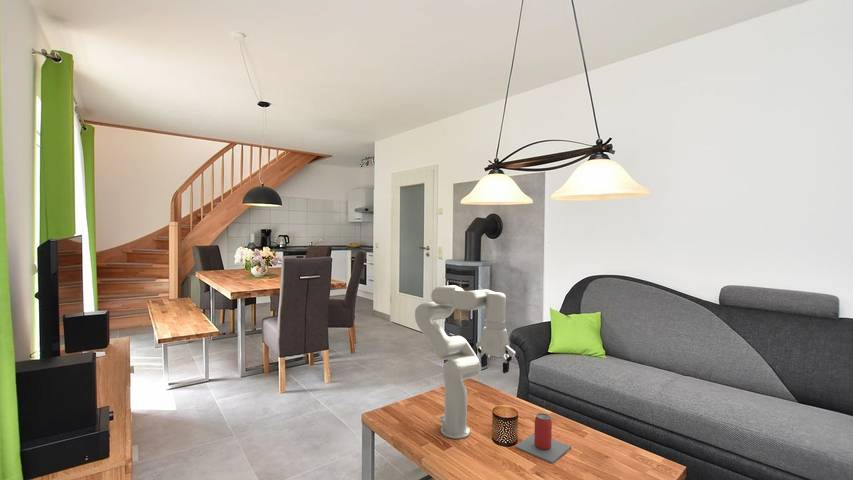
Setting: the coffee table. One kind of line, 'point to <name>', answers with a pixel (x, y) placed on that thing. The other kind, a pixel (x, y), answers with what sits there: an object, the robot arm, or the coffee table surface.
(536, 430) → the beer can
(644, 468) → the coffee table surface
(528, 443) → the slate mat
